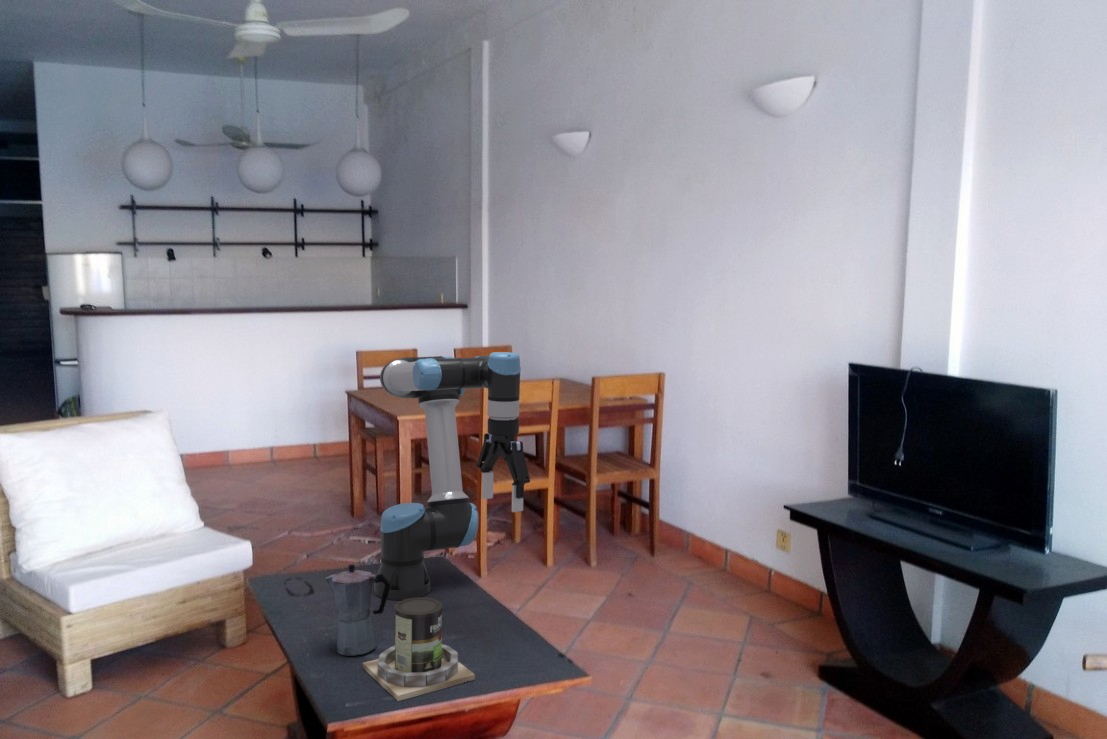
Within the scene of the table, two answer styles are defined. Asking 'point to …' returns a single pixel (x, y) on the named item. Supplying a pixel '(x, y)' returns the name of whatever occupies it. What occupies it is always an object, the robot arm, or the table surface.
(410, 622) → the coffee can
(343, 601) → the moka pot
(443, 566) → the table surface
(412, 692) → the ring board
